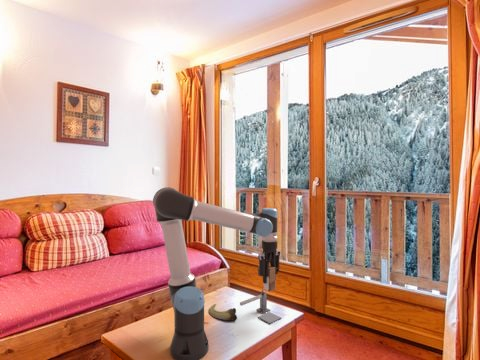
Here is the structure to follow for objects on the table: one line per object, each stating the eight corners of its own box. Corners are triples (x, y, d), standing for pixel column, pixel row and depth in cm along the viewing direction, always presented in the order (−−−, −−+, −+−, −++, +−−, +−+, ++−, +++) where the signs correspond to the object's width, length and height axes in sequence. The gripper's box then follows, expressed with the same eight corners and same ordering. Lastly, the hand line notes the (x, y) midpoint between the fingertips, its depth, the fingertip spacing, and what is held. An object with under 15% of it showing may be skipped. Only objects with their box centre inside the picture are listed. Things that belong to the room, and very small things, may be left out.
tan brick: (275, 289, 144) (275, 267, 143) (269, 291, 141) (269, 269, 141) (263, 284, 149) (263, 263, 149) (257, 287, 147) (257, 265, 146)
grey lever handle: (244, 322, 140) (244, 301, 140) (237, 318, 144) (237, 297, 143) (270, 310, 152) (270, 291, 152) (263, 307, 156) (263, 288, 155)
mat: (270, 324, 138) (270, 323, 138) (257, 317, 144) (257, 316, 144) (281, 318, 144) (281, 317, 144) (269, 312, 150) (269, 311, 150)
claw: (243, 317, 146) (243, 310, 146) (229, 325, 138) (229, 318, 138) (214, 306, 158) (214, 300, 158) (200, 313, 150) (200, 307, 150)
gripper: (262, 244, 135) (262, 295, 135) (287, 238, 146) (286, 285, 147) (251, 241, 140) (251, 290, 141) (275, 236, 152) (275, 281, 152)
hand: (269, 288), depth 144 cm, fingers closed on tan brick, 4 cm apart
